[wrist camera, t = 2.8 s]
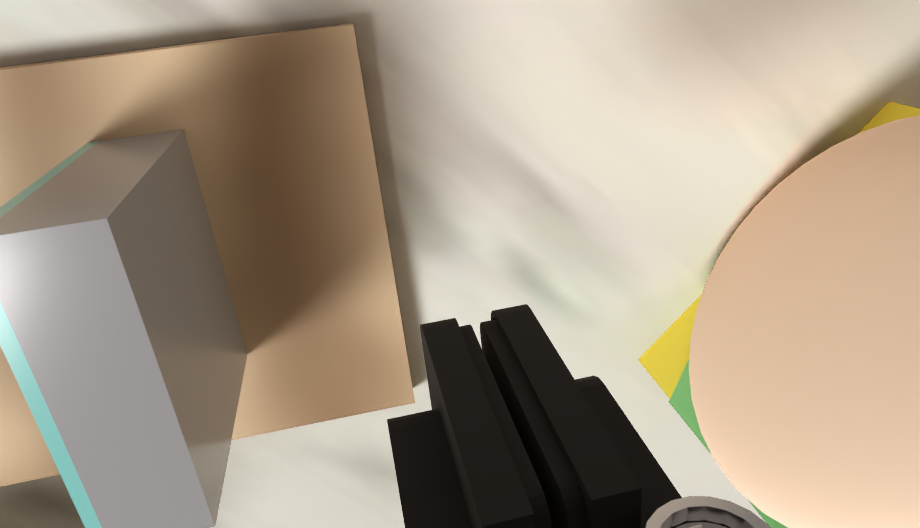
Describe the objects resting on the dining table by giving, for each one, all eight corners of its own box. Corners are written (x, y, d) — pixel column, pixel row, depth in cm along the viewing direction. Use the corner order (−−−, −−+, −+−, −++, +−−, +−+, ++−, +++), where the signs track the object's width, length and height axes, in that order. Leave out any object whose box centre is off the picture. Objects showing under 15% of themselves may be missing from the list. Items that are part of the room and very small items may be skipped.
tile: (184, 128, 17) (106, 218, 11) (247, 354, 20) (215, 526, 14) (87, 142, 17) (-48, 242, 11) (166, 369, 20) (96, 552, 14)
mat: (352, 23, 18) (353, 25, 17) (411, 389, 23) (414, 402, 22) (-413, 119, 16) (-449, 126, 15) (-160, 503, 21) (-178, 522, 20)
